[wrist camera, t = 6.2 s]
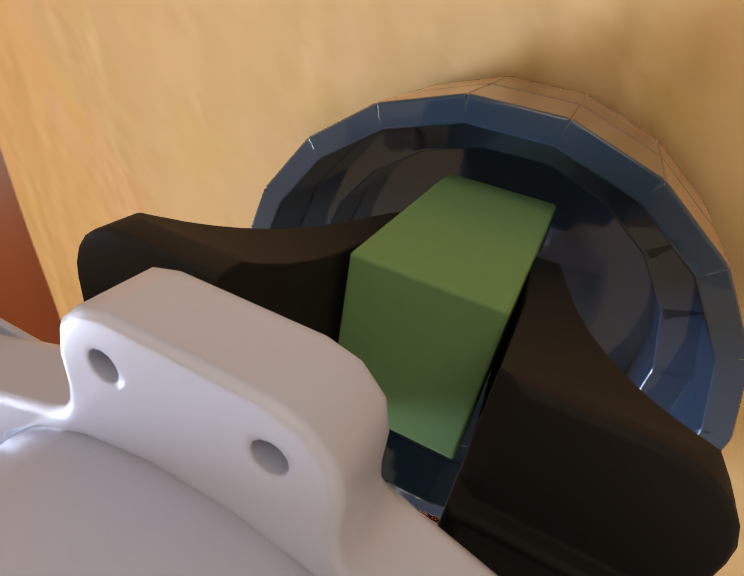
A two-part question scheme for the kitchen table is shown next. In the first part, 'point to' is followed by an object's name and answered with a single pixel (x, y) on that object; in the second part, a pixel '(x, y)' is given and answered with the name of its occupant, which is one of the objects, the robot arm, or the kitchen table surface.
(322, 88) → the kitchen table surface
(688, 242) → the bowl
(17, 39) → the kitchen table surface
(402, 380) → the green block
